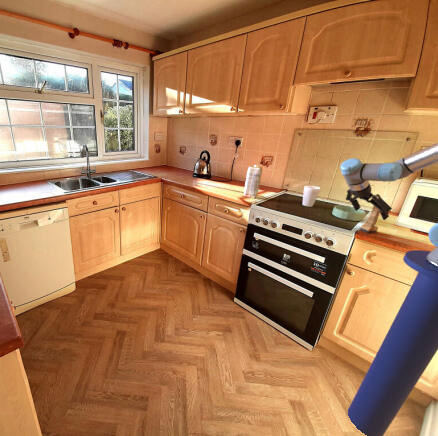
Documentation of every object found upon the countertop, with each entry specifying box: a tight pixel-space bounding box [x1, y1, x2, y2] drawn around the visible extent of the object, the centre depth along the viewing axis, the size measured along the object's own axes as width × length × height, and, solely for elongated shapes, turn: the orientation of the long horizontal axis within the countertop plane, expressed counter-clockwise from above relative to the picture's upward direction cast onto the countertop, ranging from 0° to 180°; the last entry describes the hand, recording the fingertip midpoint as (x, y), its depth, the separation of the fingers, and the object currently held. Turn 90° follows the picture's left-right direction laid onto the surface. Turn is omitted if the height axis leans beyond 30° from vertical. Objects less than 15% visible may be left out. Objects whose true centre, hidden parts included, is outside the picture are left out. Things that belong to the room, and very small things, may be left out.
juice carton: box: [243, 164, 263, 199], centre depth 183 cm, size 9×8×24 cm
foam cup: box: [301, 185, 322, 208], centre depth 168 cm, size 10×9×13 cm
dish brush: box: [359, 205, 381, 234], centre depth 127 cm, size 6×4×15 cm, turn 103°
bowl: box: [331, 204, 367, 222], centre depth 149 cm, size 15×16×5 cm
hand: (371, 213), depth 126 cm, fingers open, 13 cm apart
